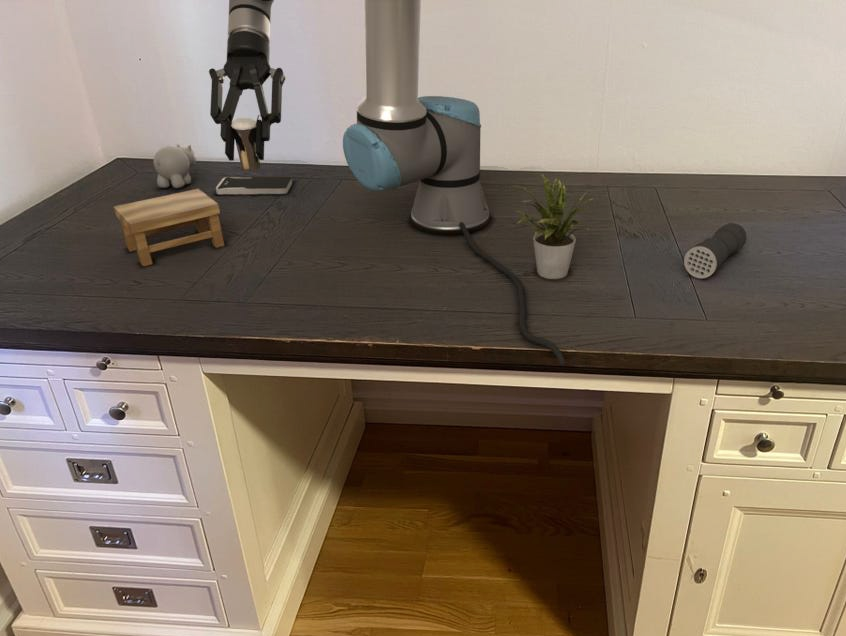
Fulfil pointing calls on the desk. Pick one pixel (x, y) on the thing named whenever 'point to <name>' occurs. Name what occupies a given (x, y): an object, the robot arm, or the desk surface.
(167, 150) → the round bodied animal figurine
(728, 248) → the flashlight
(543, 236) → the house plant
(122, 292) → the desk surface
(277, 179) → the smartphone
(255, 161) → the milkshake
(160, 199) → the stool
